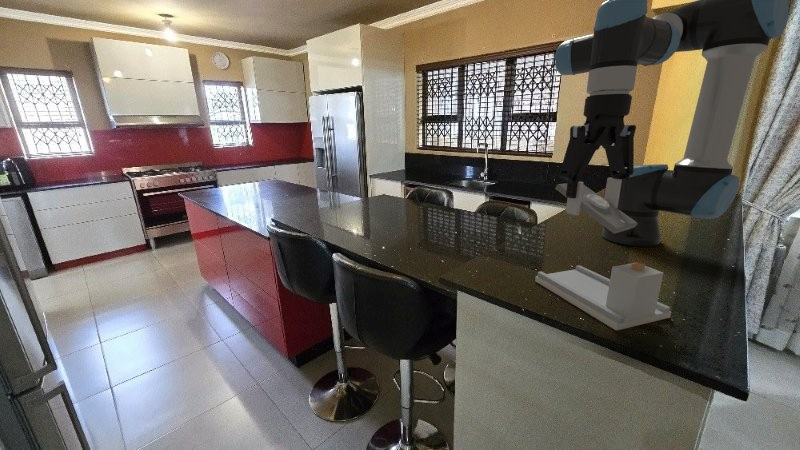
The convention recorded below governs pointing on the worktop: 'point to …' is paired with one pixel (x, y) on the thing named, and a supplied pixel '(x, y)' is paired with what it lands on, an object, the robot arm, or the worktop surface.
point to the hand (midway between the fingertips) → (591, 211)
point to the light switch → (602, 210)
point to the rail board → (612, 293)
